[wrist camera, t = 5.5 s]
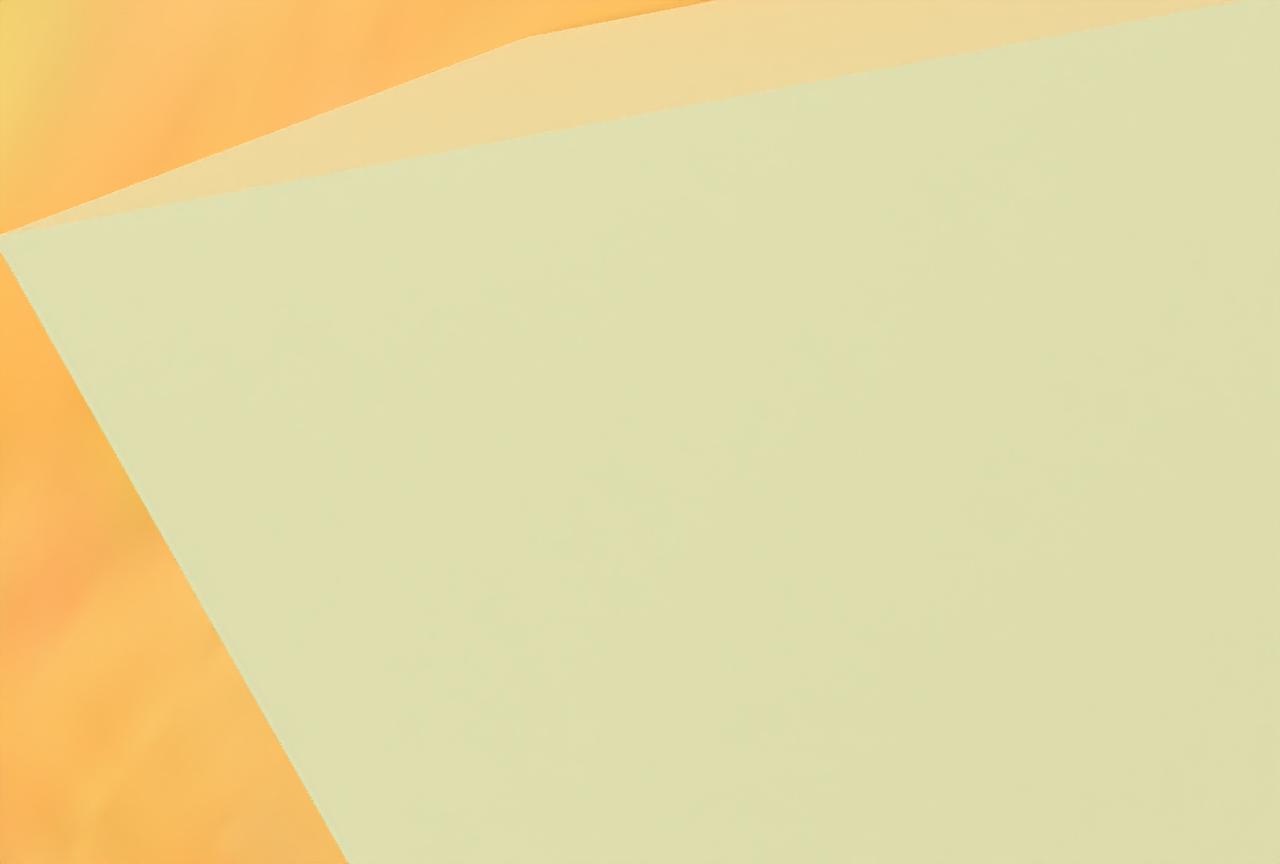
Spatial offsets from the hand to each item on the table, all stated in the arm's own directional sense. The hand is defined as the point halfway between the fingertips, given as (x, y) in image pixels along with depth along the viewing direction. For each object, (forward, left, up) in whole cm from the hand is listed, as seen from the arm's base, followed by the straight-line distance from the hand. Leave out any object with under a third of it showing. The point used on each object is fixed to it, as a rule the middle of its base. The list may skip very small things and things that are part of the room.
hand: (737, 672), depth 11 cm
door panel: (0, 0, -6) cm, 6 cm away
